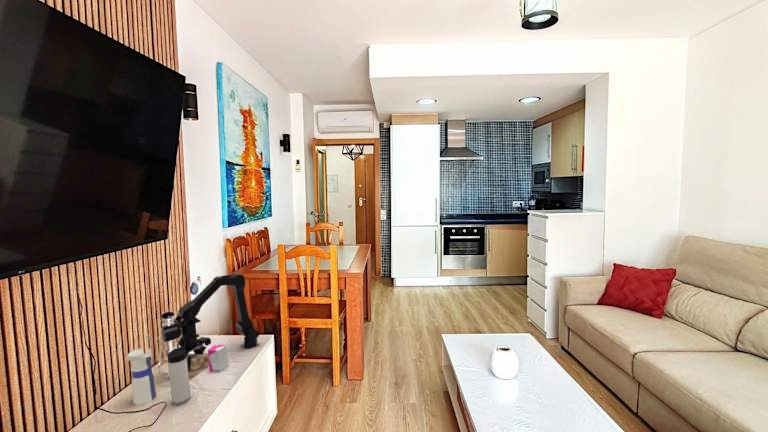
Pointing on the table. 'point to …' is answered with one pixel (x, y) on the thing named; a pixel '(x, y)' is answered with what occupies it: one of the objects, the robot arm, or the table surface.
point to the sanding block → (196, 362)
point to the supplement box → (218, 358)
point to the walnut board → (206, 365)
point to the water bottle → (142, 376)
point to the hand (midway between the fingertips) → (192, 367)
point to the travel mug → (179, 376)
